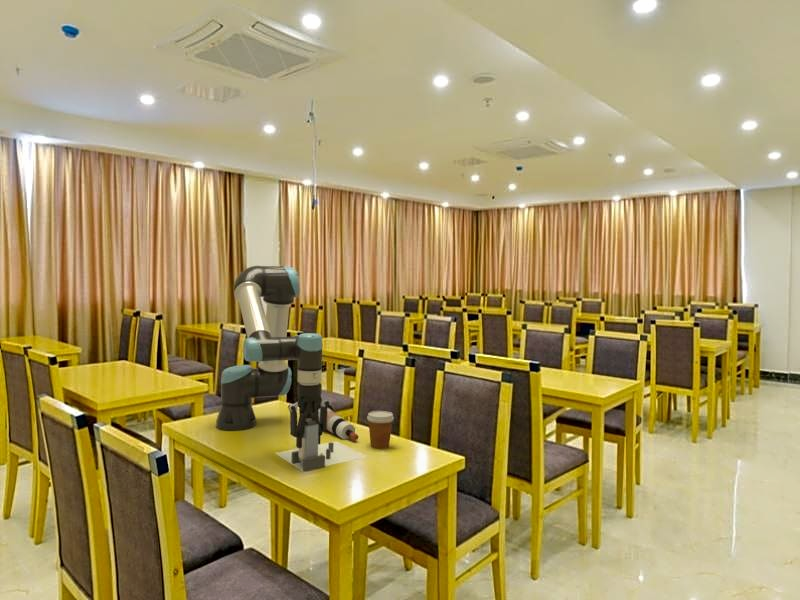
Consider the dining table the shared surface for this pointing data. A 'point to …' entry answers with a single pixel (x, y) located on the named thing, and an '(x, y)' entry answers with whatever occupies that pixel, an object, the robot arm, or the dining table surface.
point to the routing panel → (322, 456)
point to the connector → (310, 438)
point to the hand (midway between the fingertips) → (308, 456)
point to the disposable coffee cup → (380, 428)
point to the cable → (337, 424)
